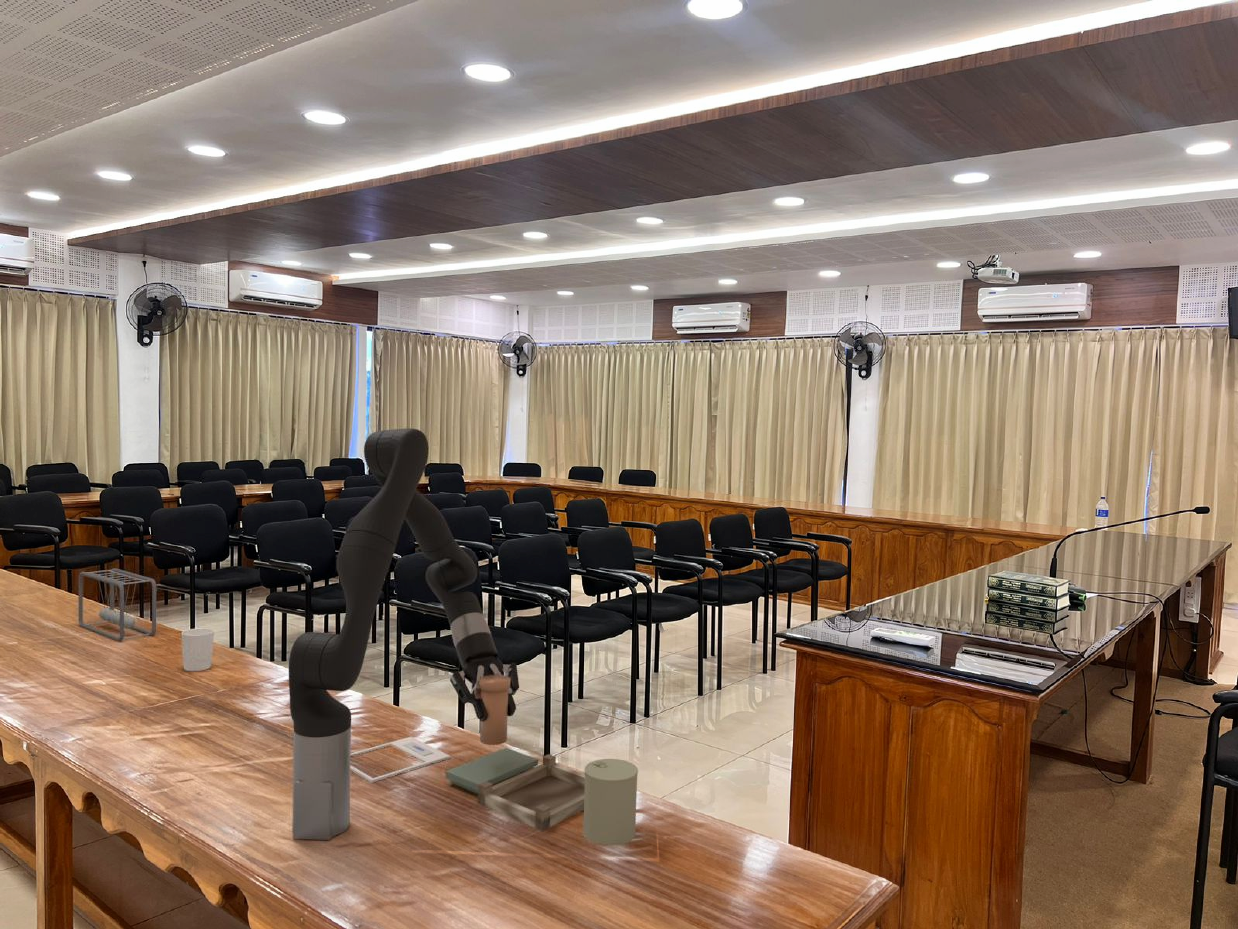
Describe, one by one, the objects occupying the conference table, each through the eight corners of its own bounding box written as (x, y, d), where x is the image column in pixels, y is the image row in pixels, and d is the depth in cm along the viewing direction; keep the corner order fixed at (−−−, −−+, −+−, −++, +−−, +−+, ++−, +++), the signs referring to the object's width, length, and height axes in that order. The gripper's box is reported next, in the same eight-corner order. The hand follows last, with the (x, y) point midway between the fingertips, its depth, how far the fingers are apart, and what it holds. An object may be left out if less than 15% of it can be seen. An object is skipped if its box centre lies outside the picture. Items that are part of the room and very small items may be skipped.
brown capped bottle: (506, 746, 164) (508, 684, 164) (475, 745, 164) (476, 683, 164) (511, 734, 170) (512, 675, 170) (480, 733, 170) (482, 674, 170)
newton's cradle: (156, 636, 265) (157, 579, 264) (120, 643, 257) (120, 584, 256) (113, 620, 283) (113, 567, 282) (77, 626, 275) (77, 571, 274)
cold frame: (611, 797, 162) (612, 776, 162) (542, 833, 147) (543, 810, 147) (548, 773, 172) (549, 754, 171) (477, 805, 156) (478, 784, 156)
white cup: (181, 665, 236) (182, 629, 236) (213, 662, 239) (213, 627, 239) (180, 673, 229) (180, 636, 228) (213, 670, 232) (213, 634, 232)
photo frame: (450, 755, 178) (371, 779, 165) (450, 760, 178) (371, 785, 165) (411, 735, 188) (334, 757, 175) (411, 740, 188) (334, 762, 175)
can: (606, 817, 154) (608, 751, 153) (647, 834, 148) (649, 766, 147) (570, 836, 146) (573, 766, 146) (612, 854, 141) (614, 782, 140)
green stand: (537, 774, 171) (538, 759, 171) (478, 800, 159) (478, 784, 158) (505, 762, 177) (505, 747, 177) (445, 786, 164) (445, 771, 164)
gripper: (445, 635, 168) (470, 714, 159) (511, 626, 176) (538, 701, 167) (434, 655, 173) (457, 733, 164) (499, 646, 181) (524, 719, 172)
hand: (498, 716), depth 166 cm, fingers closed on brown capped bottle, 5 cm apart
